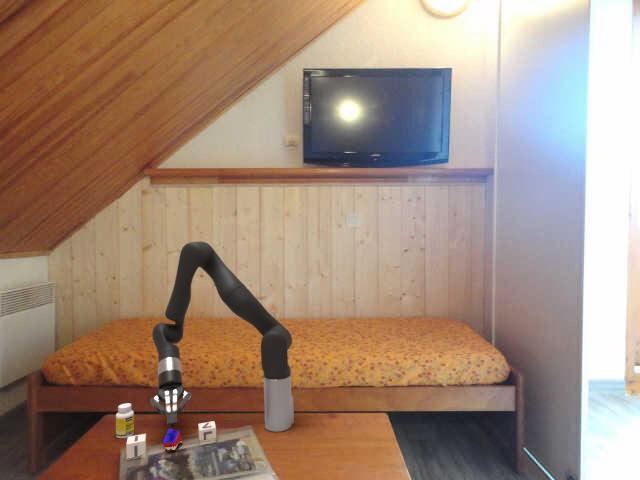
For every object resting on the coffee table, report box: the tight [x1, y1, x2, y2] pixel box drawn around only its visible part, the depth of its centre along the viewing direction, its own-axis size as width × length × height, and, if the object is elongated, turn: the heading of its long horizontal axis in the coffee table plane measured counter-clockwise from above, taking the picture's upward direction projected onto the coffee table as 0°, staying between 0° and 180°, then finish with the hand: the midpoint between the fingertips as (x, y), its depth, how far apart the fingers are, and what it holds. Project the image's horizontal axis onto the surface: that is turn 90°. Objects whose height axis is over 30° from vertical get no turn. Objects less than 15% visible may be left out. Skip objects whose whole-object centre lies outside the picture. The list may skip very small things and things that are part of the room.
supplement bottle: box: [115, 402, 135, 439], centre depth 133 cm, size 5×5×10 cm
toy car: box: [162, 428, 183, 448], centre depth 123 cm, size 4×4×8 cm
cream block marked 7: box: [197, 420, 217, 441], centre depth 128 cm, size 5×5×5 cm
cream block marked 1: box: [125, 433, 147, 460], centre depth 120 cm, size 5×5×5 cm
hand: (172, 425), depth 124 cm, fingers closed
